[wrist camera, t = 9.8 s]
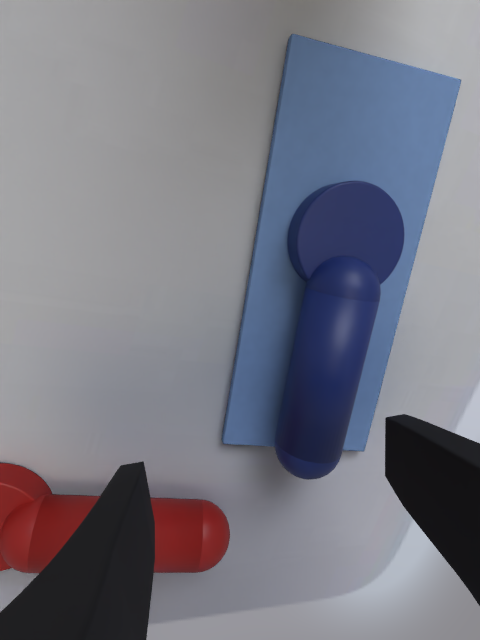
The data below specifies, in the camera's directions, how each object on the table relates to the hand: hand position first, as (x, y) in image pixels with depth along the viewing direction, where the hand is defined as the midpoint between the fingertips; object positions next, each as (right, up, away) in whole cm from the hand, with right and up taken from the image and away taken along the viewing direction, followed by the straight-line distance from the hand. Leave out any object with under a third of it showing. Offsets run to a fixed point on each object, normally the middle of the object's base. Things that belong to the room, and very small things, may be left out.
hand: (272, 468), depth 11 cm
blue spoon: (+2, +4, +4) cm, 6 cm away
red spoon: (-7, -4, +5) cm, 9 cm away
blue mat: (+3, +6, +4) cm, 8 cm away
